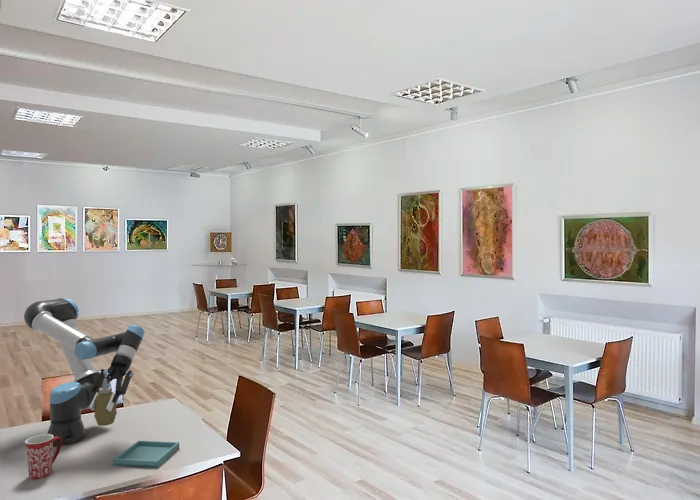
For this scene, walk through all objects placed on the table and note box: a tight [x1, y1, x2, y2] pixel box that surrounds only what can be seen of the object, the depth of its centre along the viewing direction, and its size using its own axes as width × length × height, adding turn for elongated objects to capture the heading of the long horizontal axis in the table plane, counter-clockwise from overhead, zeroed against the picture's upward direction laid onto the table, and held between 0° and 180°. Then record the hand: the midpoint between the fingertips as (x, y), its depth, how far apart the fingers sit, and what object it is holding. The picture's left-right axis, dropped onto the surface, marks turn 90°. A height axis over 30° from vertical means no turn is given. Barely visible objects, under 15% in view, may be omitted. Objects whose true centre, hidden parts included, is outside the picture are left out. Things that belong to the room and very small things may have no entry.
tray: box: [112, 440, 180, 469], centre depth 200 cm, size 18×18×2 cm
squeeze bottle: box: [93, 379, 117, 427], centre depth 202 cm, size 8×8×18 cm
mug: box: [24, 433, 63, 480], centre depth 187 cm, size 13×9×14 cm
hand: (100, 409), depth 198 cm, fingers closed on squeeze bottle, 6 cm apart
